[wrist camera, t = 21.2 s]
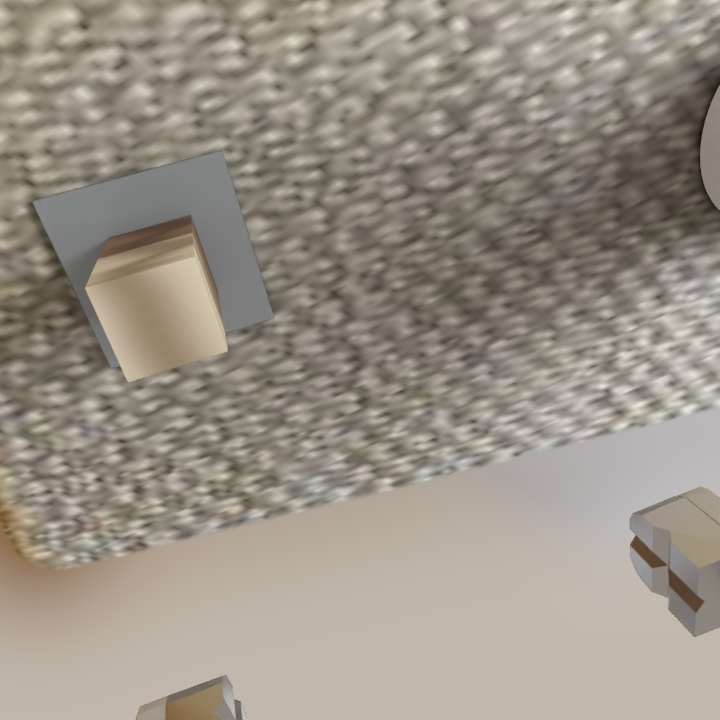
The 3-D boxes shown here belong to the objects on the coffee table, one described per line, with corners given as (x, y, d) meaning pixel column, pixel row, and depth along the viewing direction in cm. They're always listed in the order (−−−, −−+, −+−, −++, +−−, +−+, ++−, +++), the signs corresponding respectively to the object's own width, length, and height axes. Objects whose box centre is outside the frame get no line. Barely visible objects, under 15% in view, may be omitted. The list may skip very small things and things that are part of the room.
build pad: (221, 150, 36) (222, 151, 35) (273, 314, 41) (274, 318, 40) (34, 200, 34) (32, 201, 34) (112, 364, 39) (111, 368, 39)
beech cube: (192, 232, 32) (194, 256, 28) (222, 316, 34) (228, 351, 30) (97, 259, 31) (84, 287, 27) (134, 343, 34) (127, 382, 29)
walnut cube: (190, 214, 36) (192, 233, 32) (217, 290, 39) (222, 317, 34) (108, 237, 36) (98, 259, 31) (140, 313, 38) (135, 343, 34)
